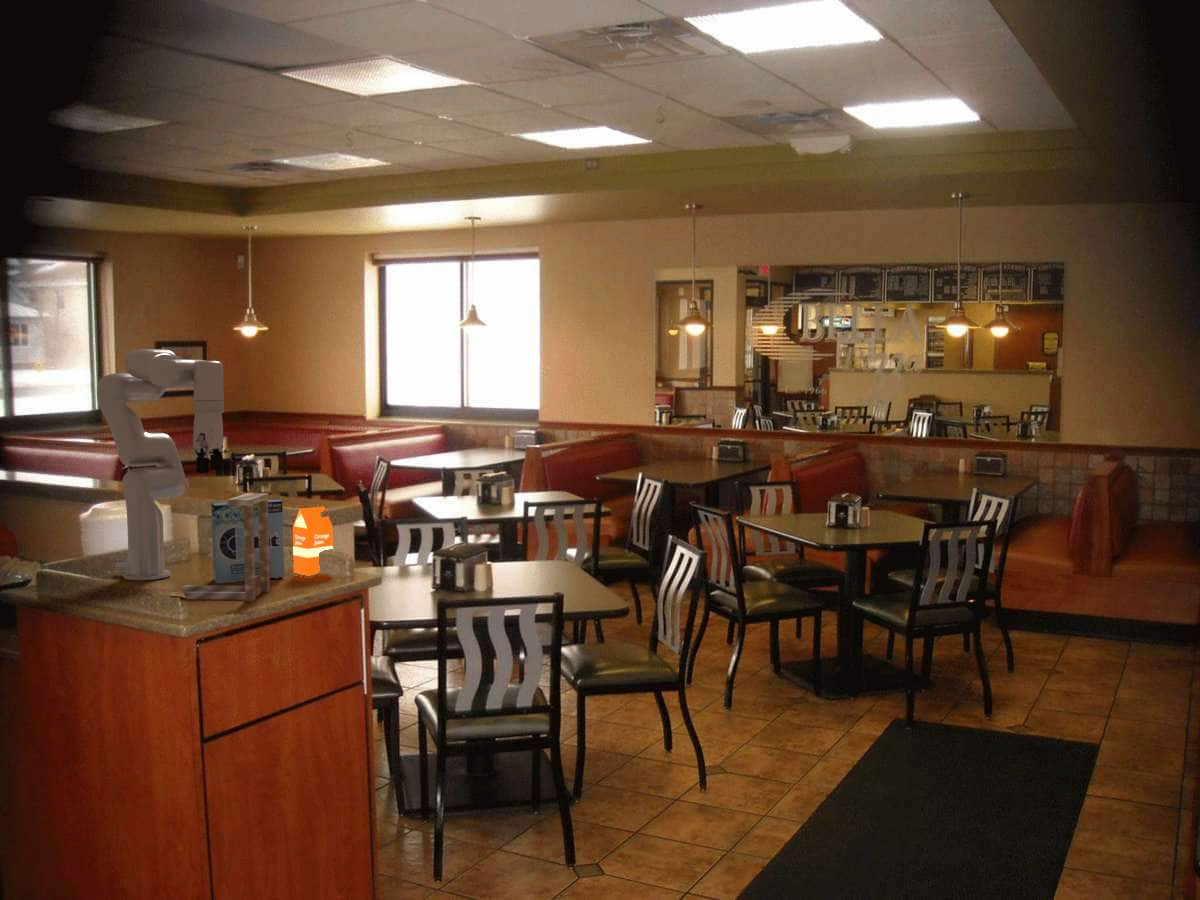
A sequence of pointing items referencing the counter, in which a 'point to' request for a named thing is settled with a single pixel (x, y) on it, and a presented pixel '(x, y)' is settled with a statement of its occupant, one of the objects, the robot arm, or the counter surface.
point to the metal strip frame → (252, 582)
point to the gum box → (232, 541)
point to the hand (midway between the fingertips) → (210, 470)
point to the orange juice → (310, 540)
